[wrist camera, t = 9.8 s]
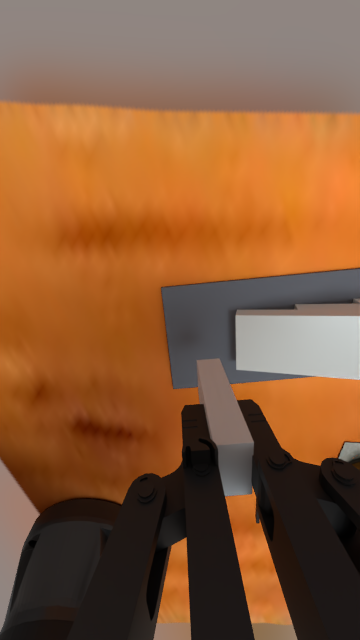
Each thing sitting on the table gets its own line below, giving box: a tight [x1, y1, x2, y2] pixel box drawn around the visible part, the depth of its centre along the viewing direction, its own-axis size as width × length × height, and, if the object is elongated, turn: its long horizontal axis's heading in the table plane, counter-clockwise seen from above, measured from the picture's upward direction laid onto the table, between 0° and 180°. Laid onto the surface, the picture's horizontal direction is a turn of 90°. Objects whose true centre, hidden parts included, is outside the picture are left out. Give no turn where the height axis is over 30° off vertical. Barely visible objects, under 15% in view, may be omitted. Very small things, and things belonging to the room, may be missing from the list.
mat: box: [161, 268, 360, 389], centre depth 20 cm, size 32×10×1 cm, turn 95°
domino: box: [236, 309, 360, 380], centre depth 18 cm, size 2×5×10 cm
